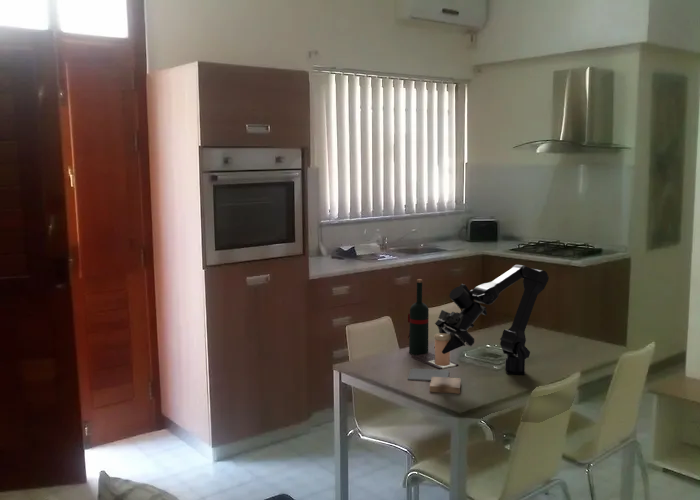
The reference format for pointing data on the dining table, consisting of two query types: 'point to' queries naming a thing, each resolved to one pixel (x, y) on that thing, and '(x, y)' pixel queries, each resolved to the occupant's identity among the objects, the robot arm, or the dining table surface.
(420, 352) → the wine bottle
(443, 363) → the tan cylindrical piece
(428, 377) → the mat
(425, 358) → the chocolate bar
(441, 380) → the plate
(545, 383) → the dining table surface
